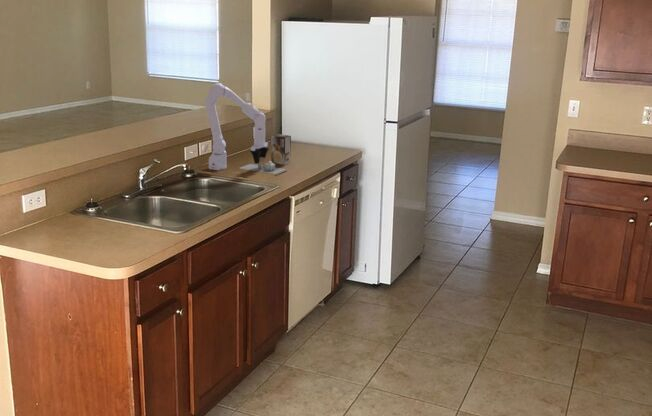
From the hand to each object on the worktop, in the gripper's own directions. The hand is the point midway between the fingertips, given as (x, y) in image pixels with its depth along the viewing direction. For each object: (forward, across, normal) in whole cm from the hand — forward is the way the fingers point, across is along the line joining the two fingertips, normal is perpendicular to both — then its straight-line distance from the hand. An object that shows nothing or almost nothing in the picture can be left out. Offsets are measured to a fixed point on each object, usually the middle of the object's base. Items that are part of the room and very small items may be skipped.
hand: (259, 162), depth 350 cm
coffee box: (+5, +18, -3) cm, 19 cm away
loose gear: (+1, 0, 0) cm, 1 cm away
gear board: (+4, 0, -2) cm, 5 cm away
